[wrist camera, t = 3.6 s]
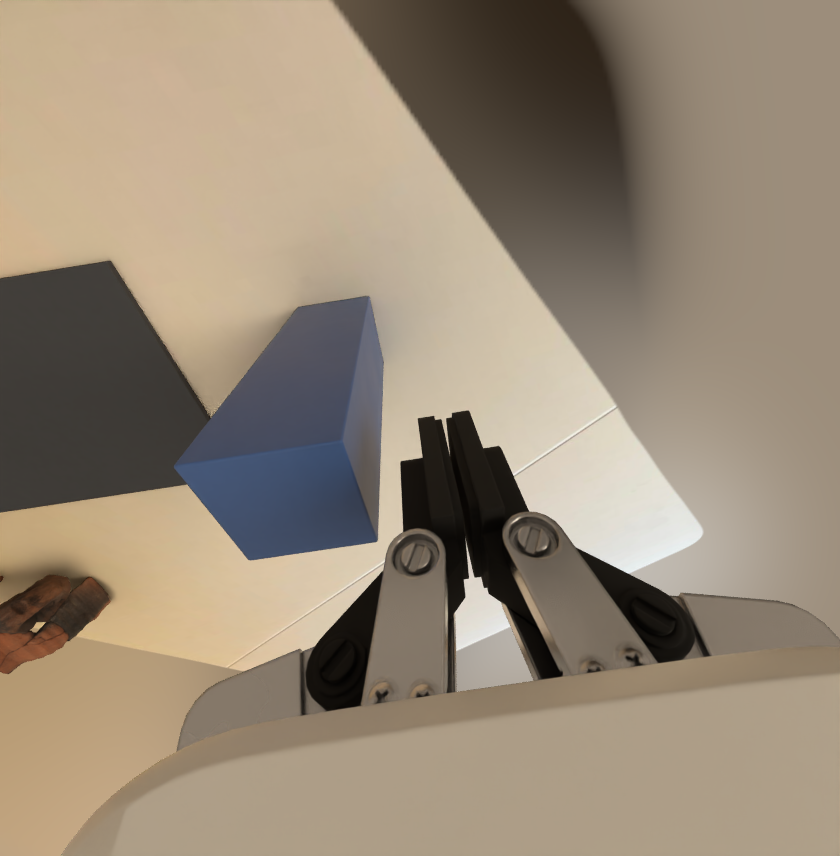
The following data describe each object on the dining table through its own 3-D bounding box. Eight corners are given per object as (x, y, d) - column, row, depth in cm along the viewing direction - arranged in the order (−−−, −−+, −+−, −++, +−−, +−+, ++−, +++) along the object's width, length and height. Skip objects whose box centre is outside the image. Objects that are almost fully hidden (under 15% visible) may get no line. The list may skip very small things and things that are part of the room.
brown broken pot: (119, 610, 39) (25, 685, 32) (60, 555, 38) (-47, 620, 32) (113, 591, 31) (-13, 684, 25) (38, 522, 31) (-108, 599, 24)
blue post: (297, 306, 19) (171, 467, 8) (369, 295, 19) (342, 440, 8) (320, 372, 22) (248, 561, 11) (383, 362, 22) (378, 542, 11)
